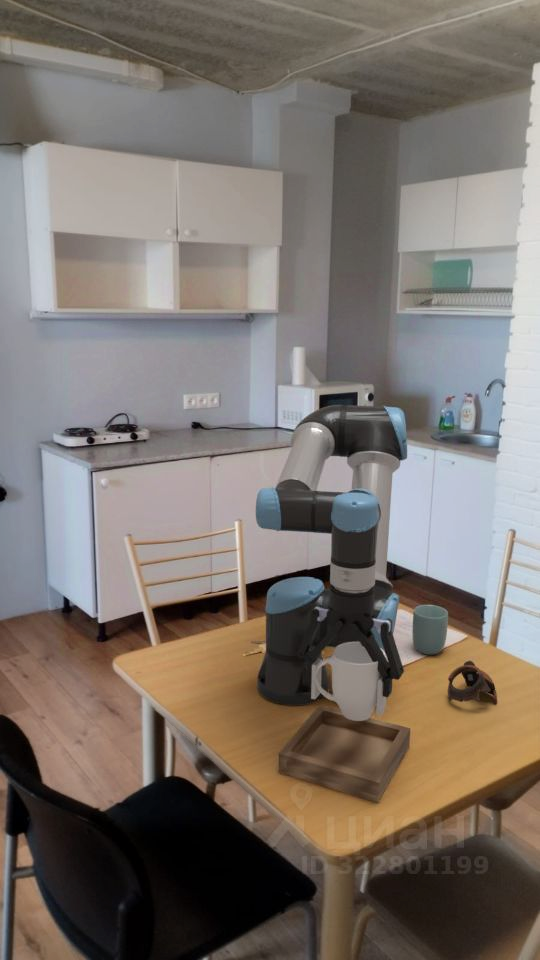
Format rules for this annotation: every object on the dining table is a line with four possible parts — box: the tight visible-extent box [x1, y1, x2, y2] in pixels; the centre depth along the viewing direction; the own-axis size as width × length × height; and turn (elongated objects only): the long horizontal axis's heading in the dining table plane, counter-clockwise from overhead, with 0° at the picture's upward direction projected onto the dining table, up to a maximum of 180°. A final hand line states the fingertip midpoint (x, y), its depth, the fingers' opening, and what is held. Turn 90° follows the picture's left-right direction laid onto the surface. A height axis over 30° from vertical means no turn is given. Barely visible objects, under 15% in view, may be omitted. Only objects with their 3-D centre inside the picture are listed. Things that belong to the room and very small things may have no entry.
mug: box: [316, 642, 386, 721], centre depth 132 cm, size 12×9×12 cm
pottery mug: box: [447, 660, 498, 705], centre depth 156 cm, size 12×10×8 cm
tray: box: [277, 704, 411, 804], centre depth 135 cm, size 18×18×4 cm
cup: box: [411, 604, 449, 656], centre depth 176 cm, size 8×8×10 cm
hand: (347, 703), depth 132 cm, fingers closed on mug, 11 cm apart
